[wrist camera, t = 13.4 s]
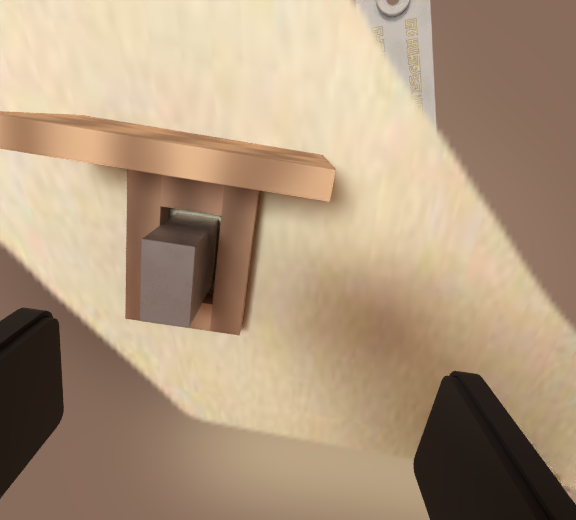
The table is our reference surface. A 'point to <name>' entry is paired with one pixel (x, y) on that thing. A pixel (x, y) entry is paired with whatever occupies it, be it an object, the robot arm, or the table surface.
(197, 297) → the tall grey rectangular prism
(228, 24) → the table surface
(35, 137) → the wooden backboard stand
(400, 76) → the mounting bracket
